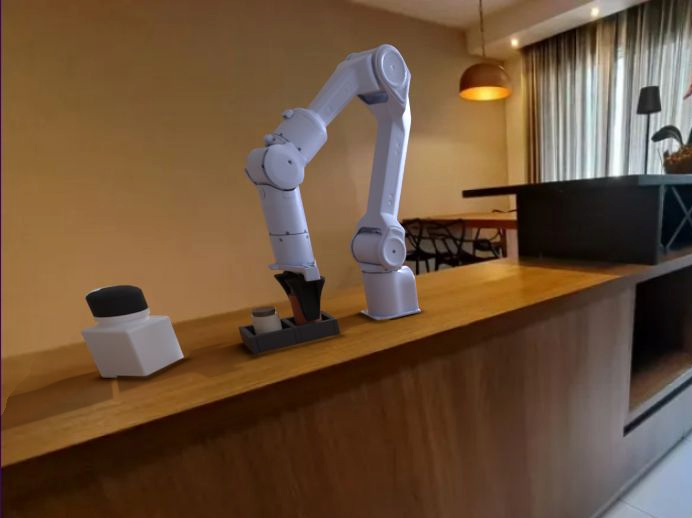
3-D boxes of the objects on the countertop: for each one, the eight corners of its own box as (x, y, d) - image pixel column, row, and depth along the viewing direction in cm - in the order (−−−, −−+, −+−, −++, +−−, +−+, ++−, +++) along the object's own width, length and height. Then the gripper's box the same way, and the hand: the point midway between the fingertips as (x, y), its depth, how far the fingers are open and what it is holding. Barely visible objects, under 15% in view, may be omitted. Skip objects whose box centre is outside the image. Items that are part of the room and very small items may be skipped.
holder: (325, 327, 81) (321, 310, 79) (340, 336, 76) (337, 318, 75) (243, 345, 73) (238, 327, 71) (255, 357, 68) (249, 337, 67)
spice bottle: (318, 322, 78) (308, 279, 75) (327, 327, 75) (317, 283, 72) (293, 327, 76) (282, 283, 72) (301, 333, 73) (290, 287, 70)
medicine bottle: (186, 360, 67) (157, 282, 62) (147, 379, 61) (111, 294, 56) (143, 359, 68) (112, 281, 63) (100, 378, 62) (61, 294, 57)
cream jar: (281, 336, 75) (273, 304, 72) (288, 342, 72) (280, 309, 70) (255, 342, 72) (246, 309, 70) (262, 348, 70) (252, 314, 67)
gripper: (249, 231, 71) (270, 312, 77) (275, 240, 62) (297, 331, 67) (294, 227, 76) (311, 304, 81) (325, 234, 66) (342, 321, 72)
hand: (308, 316), depth 75 cm, fingers closed on spice bottle, 4 cm apart
